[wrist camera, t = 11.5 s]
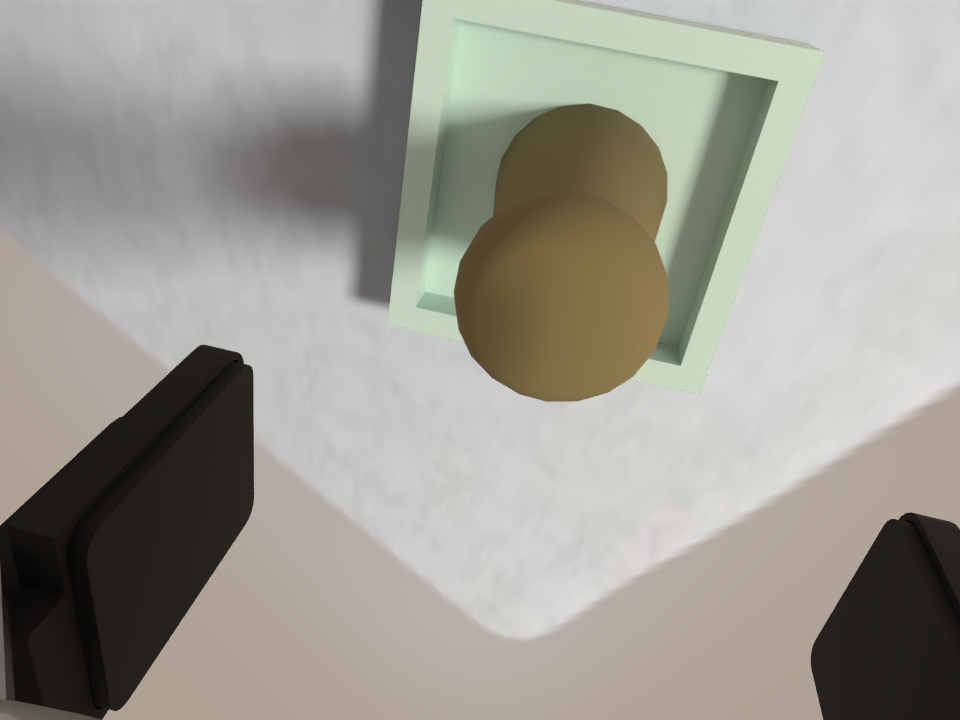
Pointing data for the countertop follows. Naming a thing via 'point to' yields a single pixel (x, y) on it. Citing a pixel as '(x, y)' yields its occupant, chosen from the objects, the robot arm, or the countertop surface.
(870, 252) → the countertop surface
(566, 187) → the cork
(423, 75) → the tray
